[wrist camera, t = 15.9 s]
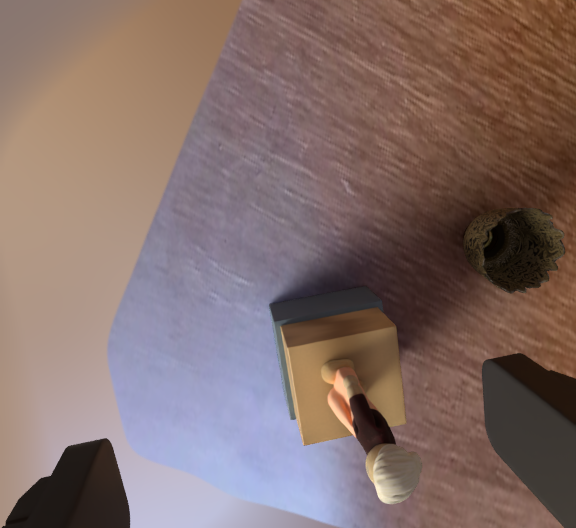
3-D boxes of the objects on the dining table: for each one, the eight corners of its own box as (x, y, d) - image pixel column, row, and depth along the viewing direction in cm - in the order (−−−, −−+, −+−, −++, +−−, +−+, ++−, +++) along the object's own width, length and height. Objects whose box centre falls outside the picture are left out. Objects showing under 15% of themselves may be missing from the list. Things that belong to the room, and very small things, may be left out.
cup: (428, 231, 48) (468, 246, 40) (487, 184, 47) (538, 190, 40) (467, 285, 50) (512, 310, 42) (524, 240, 49) (580, 257, 42)
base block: (284, 394, 50) (290, 420, 45) (268, 304, 47) (273, 321, 42) (376, 375, 51) (393, 398, 46) (366, 285, 48) (382, 300, 43)
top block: (295, 414, 45) (303, 446, 40) (280, 325, 43) (287, 347, 38) (387, 395, 46) (406, 423, 41) (377, 306, 43) (396, 325, 39)
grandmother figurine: (300, 368, 38) (335, 469, 26) (338, 338, 38) (391, 426, 26) (354, 431, 40) (411, 553, 28) (390, 404, 40) (464, 514, 28)
